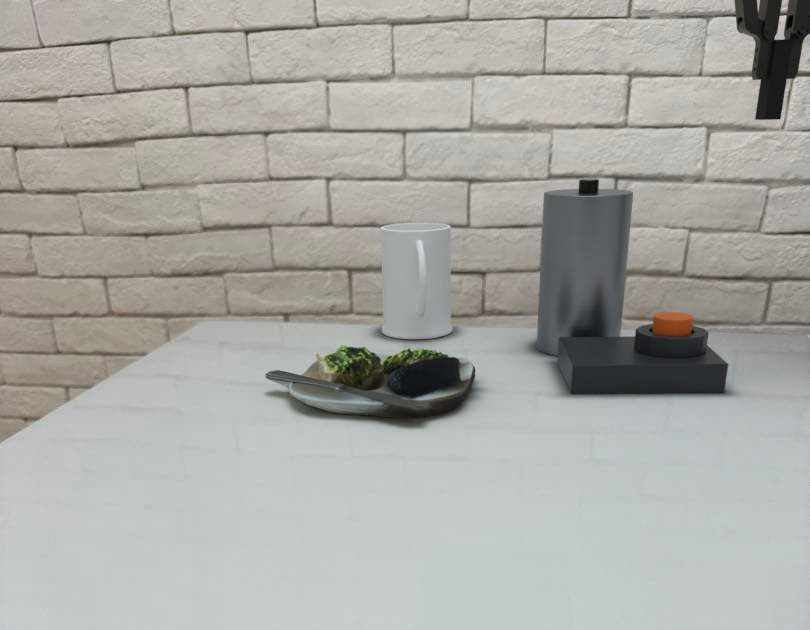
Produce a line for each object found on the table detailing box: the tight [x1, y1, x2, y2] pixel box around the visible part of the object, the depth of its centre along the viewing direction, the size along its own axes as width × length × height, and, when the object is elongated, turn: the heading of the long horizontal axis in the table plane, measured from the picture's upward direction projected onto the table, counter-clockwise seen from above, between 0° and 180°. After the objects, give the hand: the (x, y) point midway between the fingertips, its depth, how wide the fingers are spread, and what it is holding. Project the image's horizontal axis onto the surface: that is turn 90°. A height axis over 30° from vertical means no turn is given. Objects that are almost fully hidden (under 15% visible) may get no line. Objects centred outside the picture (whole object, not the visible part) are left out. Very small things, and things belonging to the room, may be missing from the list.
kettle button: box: [652, 311, 694, 336], centre depth 82 cm, size 4×4×2 cm
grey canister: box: [536, 178, 634, 357], centre depth 91 cm, size 9×9×17 cm
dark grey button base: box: [556, 323, 729, 395], centre depth 83 cm, size 14×11×4 cm
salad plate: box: [265, 345, 476, 419], centre depth 80 cm, size 19×18×5 cm
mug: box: [380, 222, 453, 340], centre depth 99 cm, size 12×8×12 cm
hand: (767, 119), depth 81 cm, fingers closed
